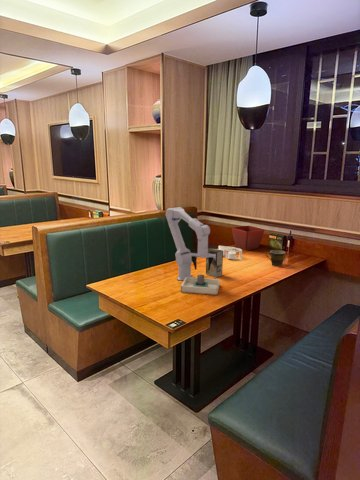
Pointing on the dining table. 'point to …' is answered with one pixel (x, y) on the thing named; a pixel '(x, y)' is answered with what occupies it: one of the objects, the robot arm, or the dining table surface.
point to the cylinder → (200, 280)
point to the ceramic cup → (276, 257)
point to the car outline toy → (232, 252)
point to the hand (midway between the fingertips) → (202, 269)
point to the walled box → (192, 287)
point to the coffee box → (215, 263)
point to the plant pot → (247, 237)
